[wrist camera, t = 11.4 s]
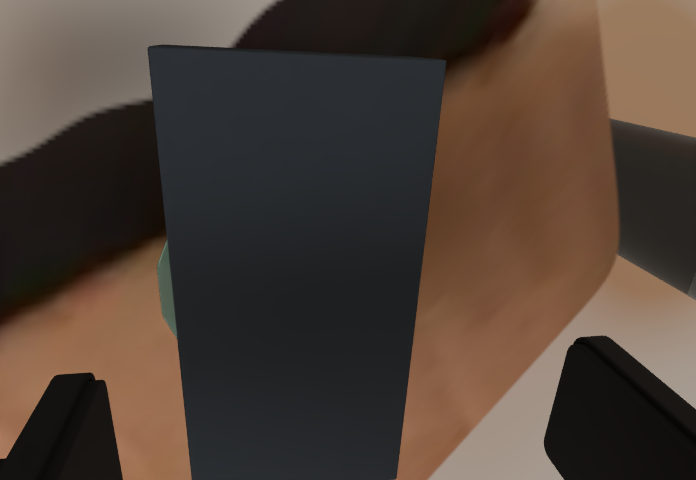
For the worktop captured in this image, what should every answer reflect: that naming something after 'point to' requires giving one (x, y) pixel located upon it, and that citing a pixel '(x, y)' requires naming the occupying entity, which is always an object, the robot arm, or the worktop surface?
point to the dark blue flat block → (295, 252)
